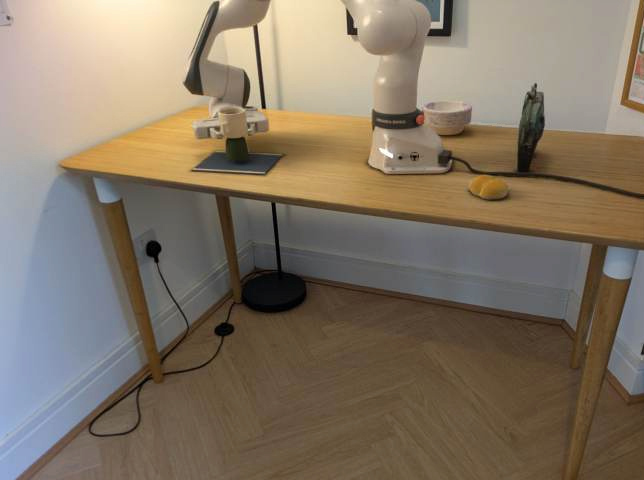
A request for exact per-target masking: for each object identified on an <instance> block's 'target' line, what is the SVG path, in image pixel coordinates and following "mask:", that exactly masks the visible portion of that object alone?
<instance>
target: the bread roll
mask: <svg viewBox="0 0 644 480" xmlns="http://www.w3.org/2000/svg"><path fill="white" fill-rule="evenodd" d="M468 185H469V187H468V188H469V191H470V192H471V193H472V195H474V196H477V197H480V198H481V199H484V200H501V199H503V198H505V197H506V196H507V195H508V193H509V185H508V184H507V182H506V181H504V180H503V179H496V178H495V177H494V176H493V175H485V174H479V175H478V176H476V177H475V178H474V179H472V180H471V181H470V182H469V184H468Z"/></svg>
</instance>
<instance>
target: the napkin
mask: <svg viewBox="0 0 644 480" xmlns="http://www.w3.org/2000/svg"><path fill="white" fill-rule="evenodd" d="M283 155H284V154H283V153H273V152H272V153H271V152H252V151H251V152H250V151H249V158H247V159H243V160H236V161H235V160H228V159H226V150H215V151H214V152H213V153H211V154H210V155H209V156H208V157H206V158H205V159H204V160H202V161H201V162H200V163H199V164H198V165H196V166H195V167H193V168H192V169H191V172H201V173H218V174H219V173H220V174H234V175H235V174H237V175H254V176H255V175H256V176H265V175H266V174H267V173H268V172H269V170H270V169H271V168H272V167H273V166H274V165H275V164H276V163H277V162H279V160H280V158H282V157H283Z"/></svg>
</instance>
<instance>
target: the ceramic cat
mask: <svg viewBox="0 0 644 480" xmlns="http://www.w3.org/2000/svg"><path fill="white" fill-rule="evenodd" d="M537 88H538V84H537V82H534V83H533V85H531V90H530V91H526V93H525V96H524V100H523V105H522V110H521V117H520V119H519V125H518V137H517V153H516V154H517V155H516V156H517V157H516V172H523V173H530V169H531V166H532V163H533V159H534V156H535V152H536V149H537V147H538V143H539V141H541V139H542V137H543V134H544V131H545V130H544V129H545V127H546V118H545V93H544V91H537Z"/></svg>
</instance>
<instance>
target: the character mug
mask: <svg viewBox="0 0 644 480" xmlns="http://www.w3.org/2000/svg"><path fill="white" fill-rule="evenodd" d="M218 117H219V123H220V125H221V134H222V135H223V136H224V137H223V138H226V139H225V151H226V159H228V160H235V161H236V160H243V159H247V158H249V152H250V151H249V147H248V143H247V140H246V138H245V137H246V136H248V135H247V134H248V127H247V119H246V112H245V109H243V108H225V109H221V110H219V111H218Z"/></svg>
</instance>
